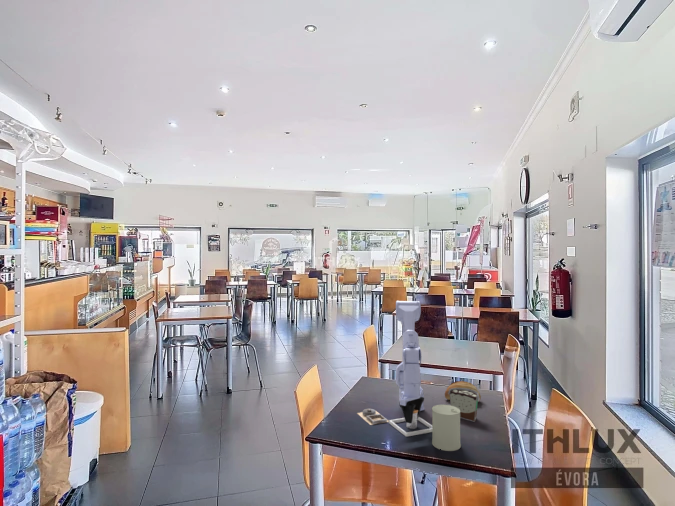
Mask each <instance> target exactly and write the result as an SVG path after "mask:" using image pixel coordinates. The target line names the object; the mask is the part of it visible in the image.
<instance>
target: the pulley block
mask: <svg viewBox="0 0 675 506" xmlns="http://www.w3.org/2000/svg"><path fill="white" fill-rule="evenodd" d="M356 414H357V415H358V416H359V417H360V418H361V419H363V420H364V422H366V423H368V424H369V426H373V425H378V424H379V425H380V424H385V423H389V420H390V419H387V418H386V417H384V415H382V413H379V412H378V411H377V410H376V409H373V408H365V409H363V410H362V411H361V412H357V413H356Z"/></svg>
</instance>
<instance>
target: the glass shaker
mask: <svg viewBox="0 0 675 506" xmlns="http://www.w3.org/2000/svg"><path fill="white" fill-rule="evenodd" d="M417 415H418V409H416V408H414V411H413V419H412V423H407V422H406V426H405V427H406V428H407V429H410V430H415V429H417V428H418V420H417Z"/></svg>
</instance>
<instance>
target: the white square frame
mask: <svg viewBox="0 0 675 506" xmlns="http://www.w3.org/2000/svg"><path fill="white" fill-rule="evenodd" d="M388 420H389V422H388V424H389V425H391V427H393V428H394V429H396V430H397V431H398V432H400V433H401V435H403V436H405V437H411V436H412V437H413V436H416V435H417V436H418V435H423V434H428V433H432V423H429V422H428V421H426V420H425V419H424V418H422V417H420V416H419V417H418V419H417V421H418V422H420V423H422V425H424V426H426V427H427V428H424V429H420V430H414V431H409V432H407V431H406V430H404V429H403V428H402V427H400V426H399V425H398V424H397V423H403V422H406V421H405V417H402V418H401V417H400V418H395V419H388Z"/></svg>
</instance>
